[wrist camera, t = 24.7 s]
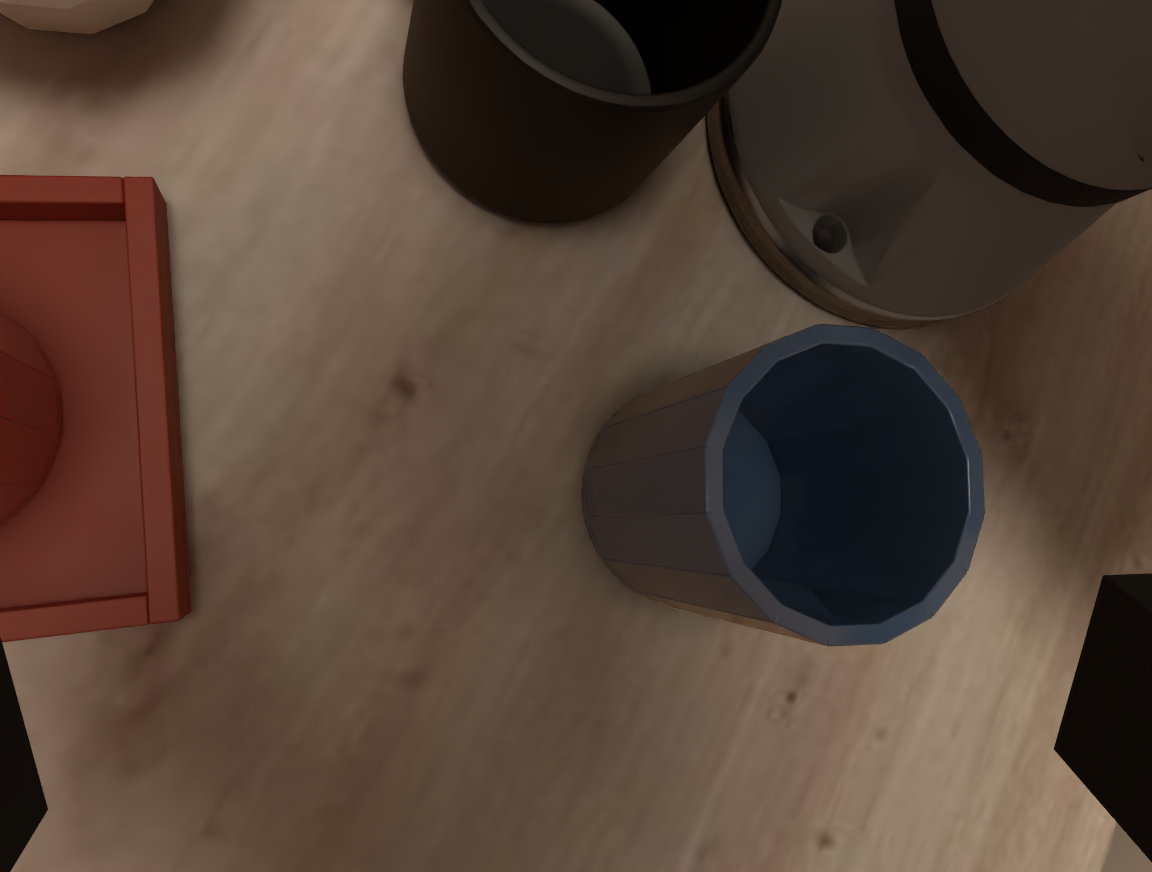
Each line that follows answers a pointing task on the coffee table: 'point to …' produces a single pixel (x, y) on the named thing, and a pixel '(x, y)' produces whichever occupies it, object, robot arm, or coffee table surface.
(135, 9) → the potted plant
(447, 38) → the mug
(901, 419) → the blue cup
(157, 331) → the red tray
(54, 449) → the red cup
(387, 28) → the coffee table surface
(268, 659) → the coffee table surface
